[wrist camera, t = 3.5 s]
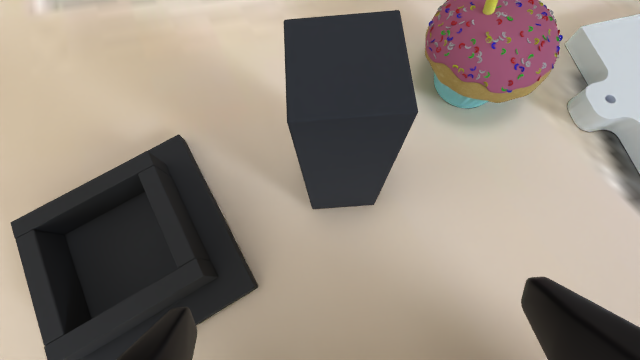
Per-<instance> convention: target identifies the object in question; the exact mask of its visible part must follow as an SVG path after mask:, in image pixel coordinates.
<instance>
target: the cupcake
mask: <svg viewBox="0 0 640 360" xmlns="http://www.w3.org/2000/svg"><path fill="white" fill-rule="evenodd" d="M550 12H551V13H550ZM552 15H553V11H552V10H549V9H547V7H546V6H545V5H543V3H541V1H539V0H447V1H446V2H445V3H444V4H443V5H442V6H440V7H439V8H438V11H437V13H436V14H435V16H434V17H433V19H432V21H430V22H429V27H428V29H427V32H426V48H425V55H426V58H427V59H428V61H429V62H430V64H431V66H432V69H433V71H434V85H435V88H436V90H437V92H438V94H439V95H440V96H441V97H442V98H443V99H444V100H445V101H446V102H448V103H449V104H451V105H454V106H456V107H460V108H474V107H478V106H481V105H483V104H485V103H486V102H488V101H490V102H494V103H500V102H505V101H508V100H512V99H515V98H519V97H523V96H526V95H528V94H530V93H531V92H532V91H533V90H534V89H536V88H537V87H538V86H539V85H540V84H541V83H542V82H543V81H544V80H545V79H546V78H547V76H548V75H549V73H550V72H551V70H552V69H553V68H554V66H553V65H554V64H555V62H556V59H557V58H558V55H559V49H560V47H559V42H560V41H561V40H562V38H563V37H562V35H559V33H560V30H558V29H557V24H556V19H554V16H552ZM560 37H561V38H560ZM559 39H560V40H559Z"/></svg>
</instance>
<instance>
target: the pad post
mask: <svg viewBox="0 0 640 360" xmlns="http://www.w3.org/2000/svg"><path fill="white" fill-rule="evenodd" d="M284 44H285V73H286V103H287V123H288V126H289V130H290V133H291V137H292V140H293V144H294V147H295V150H296V154H297V157H298V161H299V164H300V168H301V171H302V175H303V178H304V181H305V185H306V188H307V192H308V195H309V199H310V202H311V206H312V209H321V208H335V207H349V206H363V205H374V203H375V201H376V199H377V197H378V195H379V193H380V191H381V189H382V187H383V185H384V182H385V180H386V178H387V176H388V174H389V172H390V170H391V168H392V166H393V163H394V161H395V159H396V157H397V155H398V153H399V151H400V149H401V147H402V145H403V142H404V140H405V138H406V136H407V134H408V132H409V130H410V128H411V126H412V124H413V121H414V119H415V117H416V115H417V113H418V108H417V103H416V97H415V92H414V86H413V81H412V75H411V70H410V65H409V59H408V54H407V48H406V43H405V37H404V32H403V26H402V21H401V15H400V11H399V10H395V11H383V12H371V13H359V14H347V15H336V16H324V17H312V18H300V19H289V20H284Z"/></svg>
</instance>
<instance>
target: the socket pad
mask: <svg viewBox="0 0 640 360" xmlns="http://www.w3.org/2000/svg"><path fill="white" fill-rule="evenodd" d="M11 226H12V230H13V233H14V237H15V239H16V243H17V247H18V250H19V254H20V258H21V261H22V265H23V269H24V273H25V276H26V280H27V284H28V287H29V291H30V295H31V299H32V302H33V306H34V310H35V313H36V317H37V321H38V325H39V328H40V332H41V336H42V339H43V343H44V345H45V347H44V348H45V352H46V356H47V360H116V359H117V358H119V357H120V356H121V355H122V354H123V353H124V352H125V351H126V350H127V349H128V348H129V347H130V346H132V345H133V344H134V343H135V342H136V341H137V340H138V339H139V338H140V337H141V336H142V335H143V334H144V333H146V332H147V331H148V330H149V329H150V328H151V327H152V326H153V325H154V324H155V323H156V322H157V321H159V320H160V319H161V318H162V317H163V316H164V315H165V314H166V313H167V312H168V311H169V310H171V309H172V308H177V307H188V308H189V309H190V311H191V313H192V316H193V319H194V322H195V324H196V325H197V324H199V323H201V322H202V321H204V320H206V319H207V318H209V317H210V316H212V315H214V314H215V313H217V312H219V311H220V310H222V309H224V308H225V307H227V306H228V305H230V304H232V303H233V302H235V301H237V300H238V299H240V298H242V297H243V296H245V295H246V294H248V293H250V292H251V291H253V290H255V289H256V288H258V285H257V283H256V281H255V279H254V277H253V275H252V273H251V271H250V269H249V267H248V265H247V263H246V261H245V259H244V257H243V255H242V253H241V251H240V249H239V247H238V245H237V243H236V241H235V239H234V237H233V235H232V233H231V231H230V229H229V227H228V225H227V223H226V221H225V219H224V217H223V215H222V213H221V211H220V209H219V207H218V205H217V203H216V201H215V199H214V197H213V195H212V193H211V191H210V189H209V187H208V185H207V183H206V181H205V179H204V177H203V175H202V173H201V171H200V169H199V168H198V166H197V164H196V162H195V160H194V158H193V156H192V154H191V152H190V150H189V148H188V146H187V144H186V142H185V140H184V139H183V138H182V137H181V136H180V135H177V136H175V137H173V138H171V139H169V140H167V141H165V142H163V143H161V144H160V145H158V146H156V147H154V148H152V149H150V150H148V151H146V152H144V153H142V154H140V155H138V156H137V157H135V158H133V159H131V160H129V161H127V162H125V163H123V164H121V165H119V166H118V167H116V168H114V169H112V170H110V171H108V172H106V173H104V174H102V175H100V176H98V177H97V178H95V179H93V180H91V181H89V182H87V183H85V184H83V185H81V186H79V187H78V188H76V189H74V190H72V191H70V192H68V193H66V194H64V195H62V196H60V197H58V198H57V199H55V200H53V201H51V202H49V203H47V204H45V205H43V206H41V207H39V208H38V209H36V210H34V211H32V212H30V213H28V214H26V215H24V216H22V217H20V218H18V219H17V220H15V221H13V222H11Z"/></svg>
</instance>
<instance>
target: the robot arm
mask: <svg viewBox="0 0 640 360" xmlns="http://www.w3.org/2000/svg"><path fill="white" fill-rule="evenodd" d="M521 304H522V308H523V311H524V313H525V315H526V317H527V319H528V321H529V323H530V325H531V327H532V329H533V331H534V333H535V335H536V337H537V339H538V341H539V343H540V345H541V347H542V349H543V351H544V353H545V355H546V357H547V359H548V360H640V327H638V326H636V325H634V324H632V323H630V322H629V321H627V320H625V319H623V318H621V317H619V316H617V315H616V314H614V313H612V312H610V311H608V310H606V309H604V308H603V307H601V306H599V305H597V304H595V303H593V302H591V301H590V300H588V299H586V298H584V297H582V296H580V295H578V294H577V293H575V292H573V291H571V290H569V289H567V288H565V287H564V286H562V285H560V284H558V283H556V282H554V281H552V280H550V279H549V278H546V277H532V278H528V279H527V280H526V283H525V287H524V291H523V295H522V299H521ZM196 338H197V327H196V324H195V322H194V319H193V316H192V313H191V311H190V309H189V308H188V307H177V308H172V309H171V310H169V311H168V312H167V313H166V314H165V315H164V316H163V317H162V318H161V319H160V320H159V321H157V322H156V323H155V324H154V325H153V326H152V327H151V328H150V329H149V330H148V331H147V332H146V333H144V334H143V335H142V336H141V337H140V338H139V339H138V340H137V341H136V342H135V343H134V344H133V345H132V346H130V347H129V348H128V349H127V350H126V351H125V352H124V353H123V354H122V355H121V356H120V357H119V358H117V359H116V360H192V358H193V353H194V348H195V343H196Z"/></svg>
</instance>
